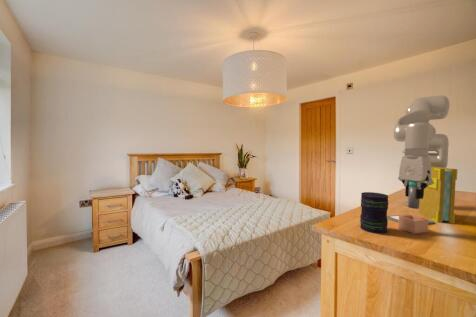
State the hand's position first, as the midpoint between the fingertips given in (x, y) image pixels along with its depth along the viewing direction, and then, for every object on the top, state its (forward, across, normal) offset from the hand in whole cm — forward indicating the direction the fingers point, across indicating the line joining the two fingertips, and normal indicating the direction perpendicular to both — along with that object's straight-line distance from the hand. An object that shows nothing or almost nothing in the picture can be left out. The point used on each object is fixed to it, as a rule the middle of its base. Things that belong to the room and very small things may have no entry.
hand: (414, 196), depth 91 cm
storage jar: (+15, -5, -15) cm, 21 cm away
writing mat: (+14, -10, +11) cm, 21 cm away
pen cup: (+14, 0, 0) cm, 14 cm away
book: (+14, -11, +28) cm, 34 cm away
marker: (+4, 0, 0) cm, 4 cm away
